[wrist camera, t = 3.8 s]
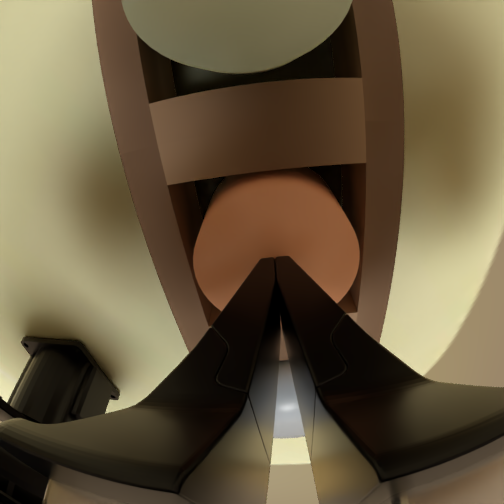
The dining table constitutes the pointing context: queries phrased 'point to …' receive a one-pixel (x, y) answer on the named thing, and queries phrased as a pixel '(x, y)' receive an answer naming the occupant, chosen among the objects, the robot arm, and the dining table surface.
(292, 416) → the slate button
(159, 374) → the dining table surface
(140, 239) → the dining table surface
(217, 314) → the brown wooden flat tray
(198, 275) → the terracotta button
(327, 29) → the sage button
